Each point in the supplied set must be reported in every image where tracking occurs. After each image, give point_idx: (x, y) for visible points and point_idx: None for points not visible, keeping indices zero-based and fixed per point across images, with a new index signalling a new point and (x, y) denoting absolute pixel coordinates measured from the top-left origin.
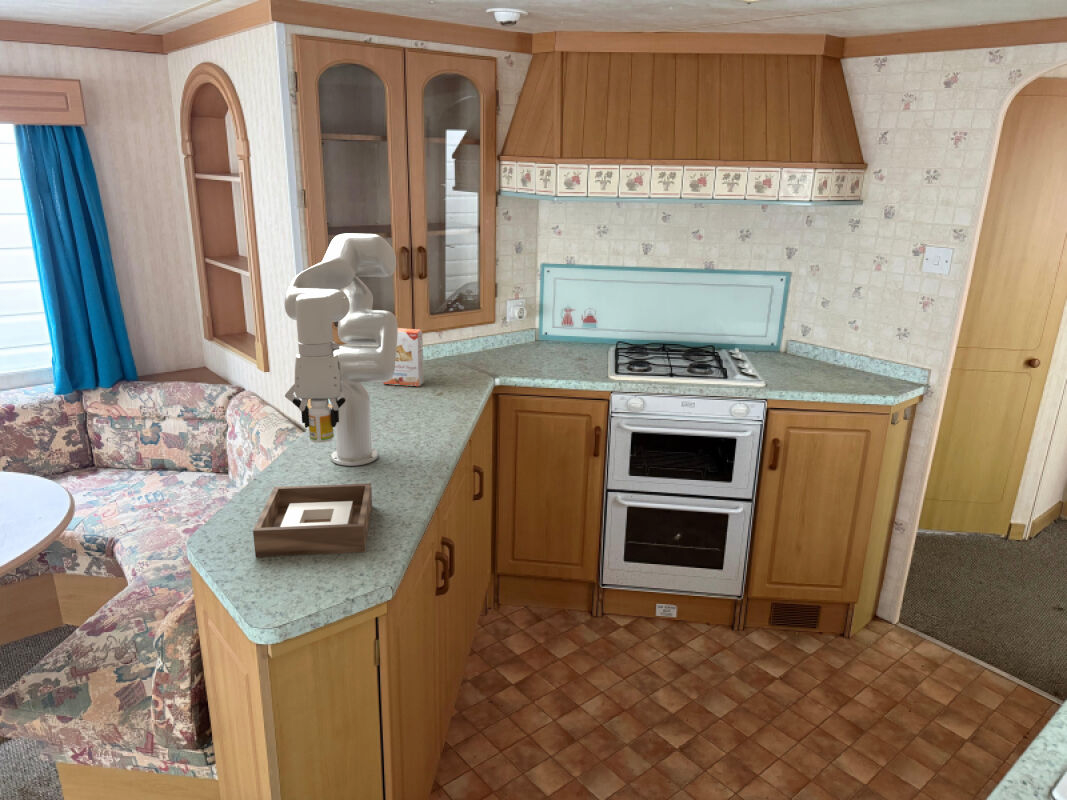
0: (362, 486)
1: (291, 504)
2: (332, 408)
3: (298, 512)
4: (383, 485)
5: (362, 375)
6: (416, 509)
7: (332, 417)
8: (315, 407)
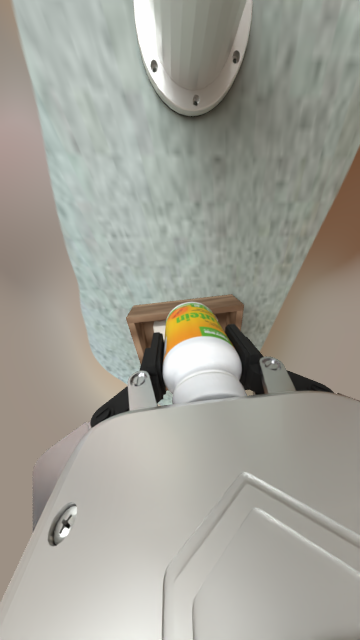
0: (232, 311)
1: (155, 328)
2: (249, 386)
3: None
4: (247, 227)
5: None
6: (275, 299)
7: None
8: None
